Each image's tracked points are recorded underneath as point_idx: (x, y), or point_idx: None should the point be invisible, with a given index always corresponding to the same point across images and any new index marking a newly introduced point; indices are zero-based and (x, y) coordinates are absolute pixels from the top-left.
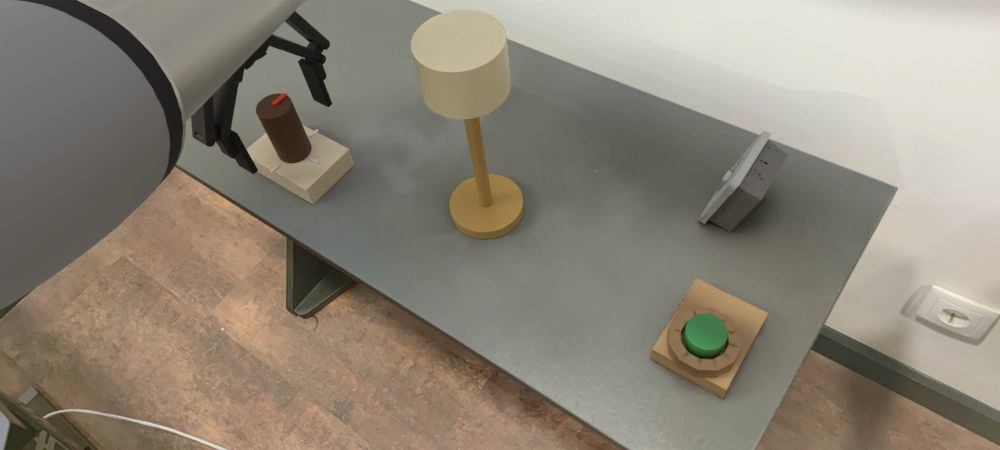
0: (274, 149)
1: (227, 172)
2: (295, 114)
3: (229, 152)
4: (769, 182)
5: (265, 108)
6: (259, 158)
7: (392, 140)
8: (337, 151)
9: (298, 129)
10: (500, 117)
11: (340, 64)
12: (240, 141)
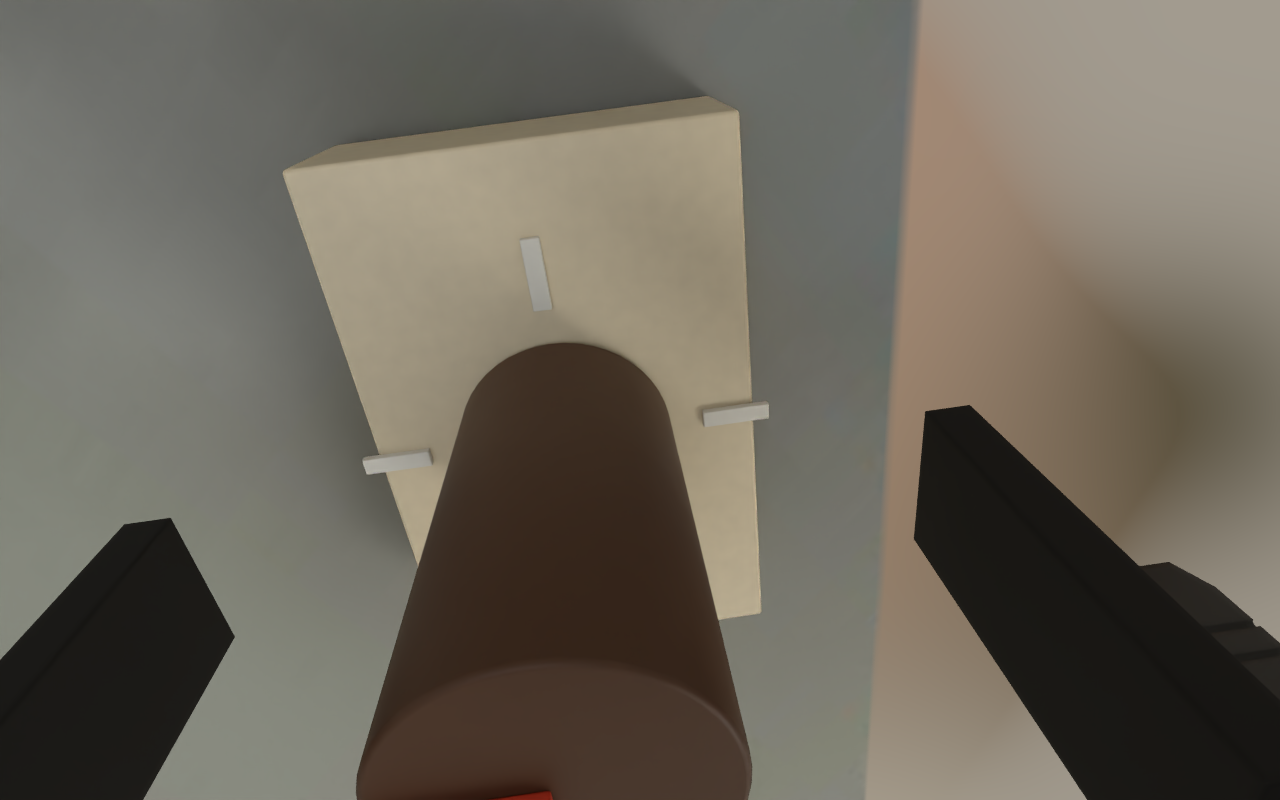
0: None
1: (810, 585)
2: (434, 595)
3: (1241, 628)
4: None
5: None
6: (733, 531)
7: (14, 105)
8: (365, 222)
9: (497, 478)
10: None
11: None
12: (1174, 662)
